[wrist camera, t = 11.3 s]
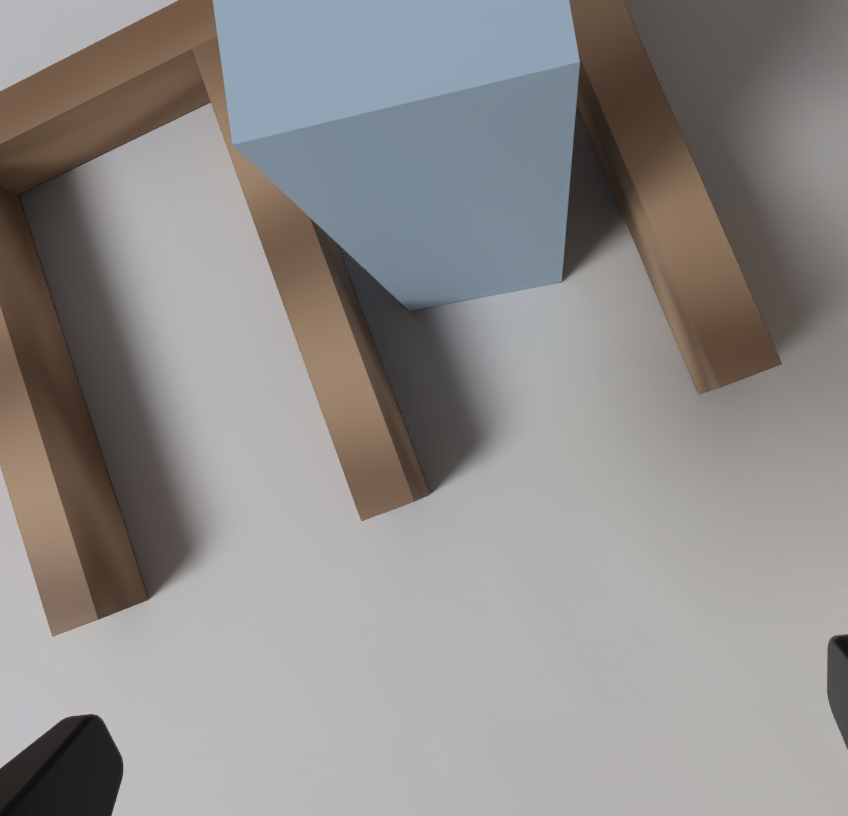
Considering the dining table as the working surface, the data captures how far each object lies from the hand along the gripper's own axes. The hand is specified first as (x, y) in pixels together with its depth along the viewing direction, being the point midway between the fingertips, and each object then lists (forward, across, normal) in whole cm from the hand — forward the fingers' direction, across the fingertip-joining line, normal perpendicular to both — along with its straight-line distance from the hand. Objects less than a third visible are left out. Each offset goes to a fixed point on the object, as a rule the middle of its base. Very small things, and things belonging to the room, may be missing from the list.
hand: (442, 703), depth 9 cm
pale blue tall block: (+15, -1, -3) cm, 15 cm away
